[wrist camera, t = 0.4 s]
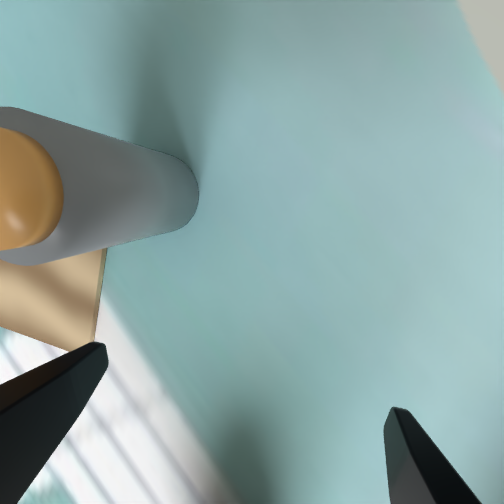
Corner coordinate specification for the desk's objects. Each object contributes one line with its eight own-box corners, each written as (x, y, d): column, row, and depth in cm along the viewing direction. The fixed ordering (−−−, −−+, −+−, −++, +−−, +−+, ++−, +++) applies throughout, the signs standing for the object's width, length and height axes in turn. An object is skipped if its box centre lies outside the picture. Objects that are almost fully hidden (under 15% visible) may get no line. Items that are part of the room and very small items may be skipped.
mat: (92, 354, 27) (87, 358, 26) (-17, 315, 28) (-24, 317, 28) (109, 229, 24) (104, 230, 24) (-12, 193, 26) (-19, 193, 25)
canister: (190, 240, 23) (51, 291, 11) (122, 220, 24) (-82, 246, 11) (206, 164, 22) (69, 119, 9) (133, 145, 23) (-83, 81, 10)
